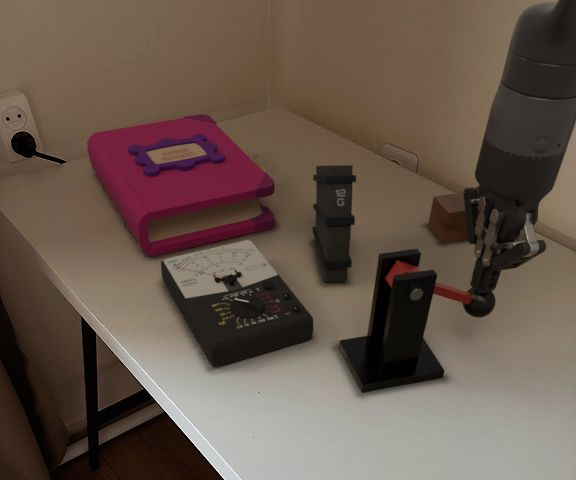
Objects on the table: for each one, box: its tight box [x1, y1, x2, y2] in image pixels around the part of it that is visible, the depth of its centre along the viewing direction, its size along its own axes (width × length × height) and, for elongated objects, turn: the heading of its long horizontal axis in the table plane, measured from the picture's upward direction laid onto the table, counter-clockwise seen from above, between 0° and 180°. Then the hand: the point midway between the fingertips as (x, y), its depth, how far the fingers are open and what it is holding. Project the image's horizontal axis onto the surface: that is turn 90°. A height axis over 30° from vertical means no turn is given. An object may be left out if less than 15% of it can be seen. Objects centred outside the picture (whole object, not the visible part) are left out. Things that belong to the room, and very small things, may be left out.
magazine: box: [311, 164, 357, 284], centre depth 86 cm, size 4×13×15 cm, turn 6°
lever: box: [385, 260, 497, 319], centre depth 70 cm, size 14×4×4 cm, turn 105°
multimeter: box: [160, 239, 314, 368], centre depth 80 cm, size 13×19×5 cm
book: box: [86, 113, 276, 257], centre depth 99 cm, size 21×28×8 cm
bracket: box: [338, 248, 445, 394], centre depth 70 cm, size 10×8×14 cm
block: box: [427, 192, 477, 244], centre depth 95 cm, size 5×5×5 cm
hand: (481, 288), depth 71 cm, fingers closed
